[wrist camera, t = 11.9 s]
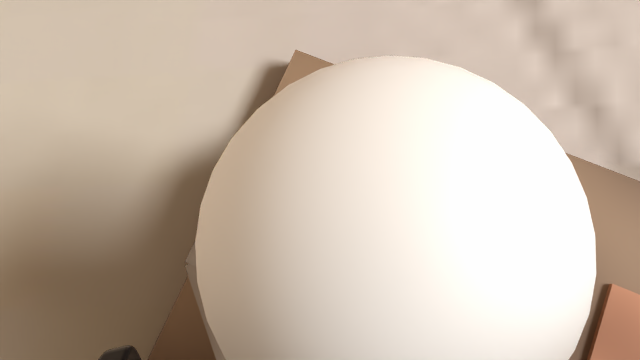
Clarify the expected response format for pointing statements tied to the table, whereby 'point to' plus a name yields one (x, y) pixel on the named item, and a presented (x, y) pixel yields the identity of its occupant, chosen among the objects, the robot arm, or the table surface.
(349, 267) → the lightbulb
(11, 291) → the table surface
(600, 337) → the tag board
